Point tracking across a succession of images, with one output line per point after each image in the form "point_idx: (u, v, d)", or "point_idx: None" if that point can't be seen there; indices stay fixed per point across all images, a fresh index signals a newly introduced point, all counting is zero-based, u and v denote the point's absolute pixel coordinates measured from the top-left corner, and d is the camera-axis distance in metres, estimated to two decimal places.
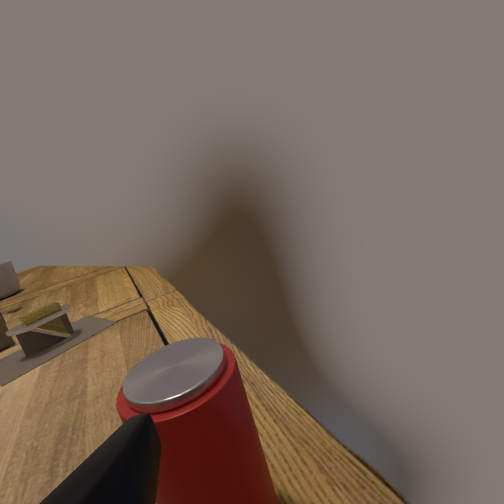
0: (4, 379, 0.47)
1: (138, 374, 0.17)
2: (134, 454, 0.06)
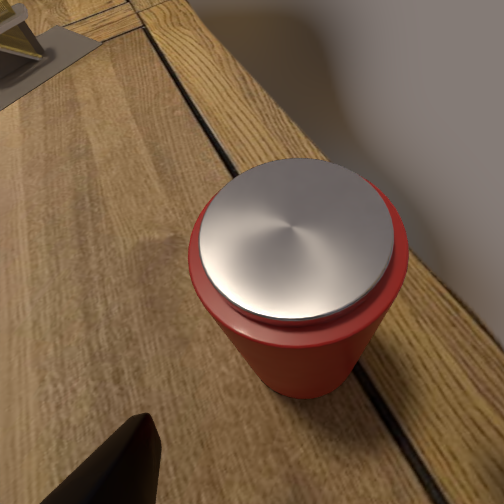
0: None
1: (223, 233, 0.09)
2: (134, 454, 0.06)
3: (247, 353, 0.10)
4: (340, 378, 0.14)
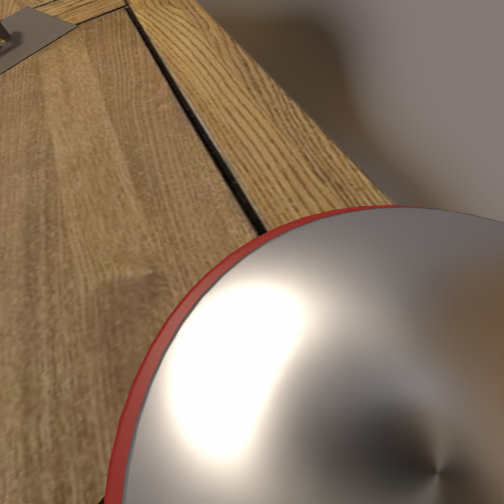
0: None
1: (202, 473, 0.03)
2: None
3: None
4: None
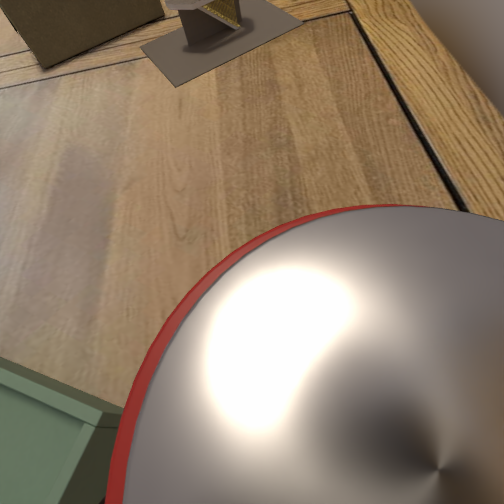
0: (174, 76, 0.38)
1: (203, 471, 0.03)
2: None
3: None
4: None
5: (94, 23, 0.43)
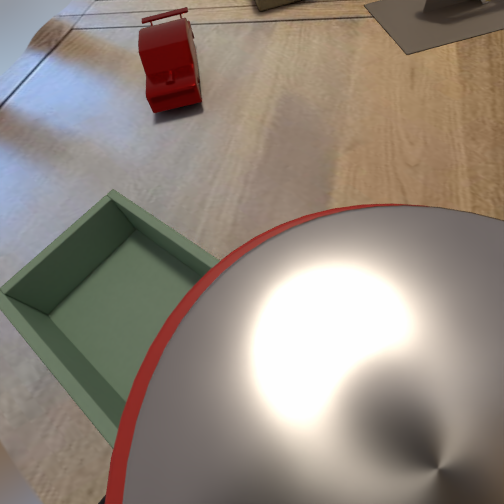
0: (405, 42, 0.35)
1: (203, 470, 0.03)
2: None
3: None
4: None
5: None
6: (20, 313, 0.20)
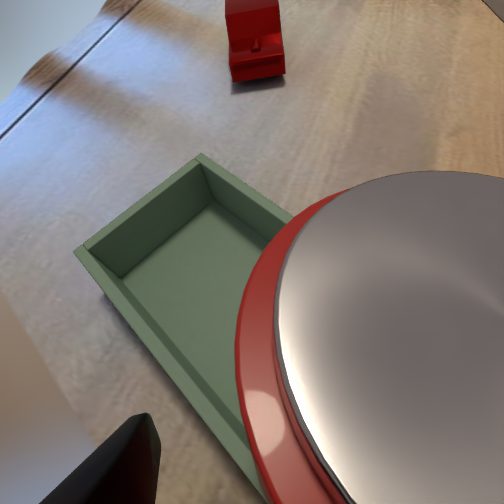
0: None
1: (339, 325, 0.04)
2: (134, 454, 0.06)
3: None
4: None
5: None
6: (104, 271, 0.18)
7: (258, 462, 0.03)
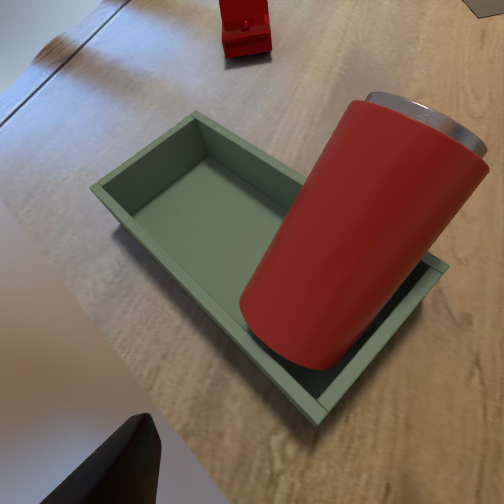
0: (478, 7, 0.35)
1: None
2: (134, 454, 0.06)
3: (379, 186, 0.12)
4: (373, 315, 0.15)
5: None
6: (116, 201, 0.22)
7: (378, 103, 0.12)
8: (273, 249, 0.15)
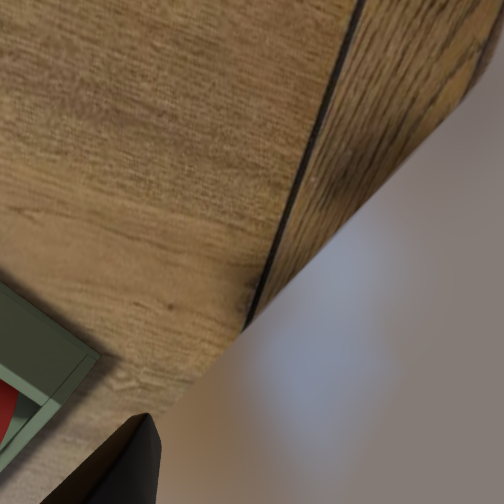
0: None
1: None
2: (134, 454, 0.06)
3: None
4: None
5: None
6: None
7: None
8: None
